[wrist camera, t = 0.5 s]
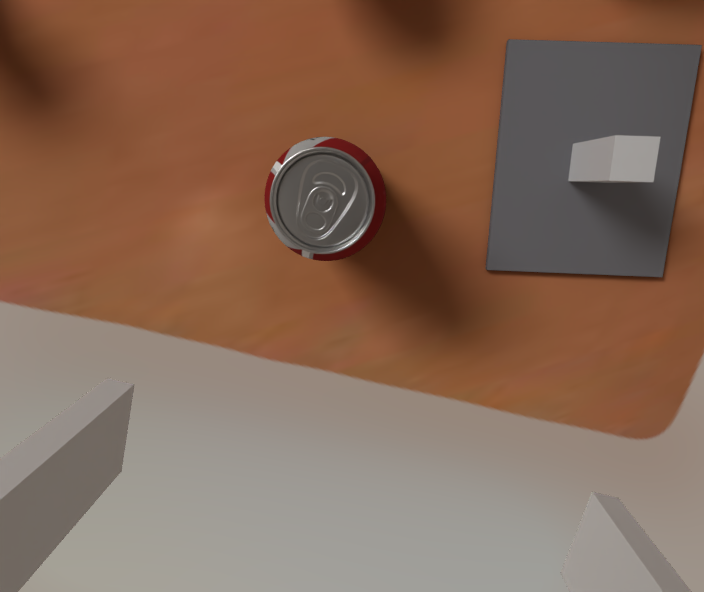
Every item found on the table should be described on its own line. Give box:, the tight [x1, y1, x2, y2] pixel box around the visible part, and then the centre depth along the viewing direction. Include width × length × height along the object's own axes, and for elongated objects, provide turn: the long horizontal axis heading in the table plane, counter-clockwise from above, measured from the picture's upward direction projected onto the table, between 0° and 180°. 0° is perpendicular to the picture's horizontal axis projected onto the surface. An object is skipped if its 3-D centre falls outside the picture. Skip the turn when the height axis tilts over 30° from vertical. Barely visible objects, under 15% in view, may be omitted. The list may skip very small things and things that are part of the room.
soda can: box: [265, 137, 386, 261], centre depth 32 cm, size 7×7×12 cm
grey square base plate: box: [486, 39, 702, 277], centre depth 34 cm, size 16×13×7 cm
